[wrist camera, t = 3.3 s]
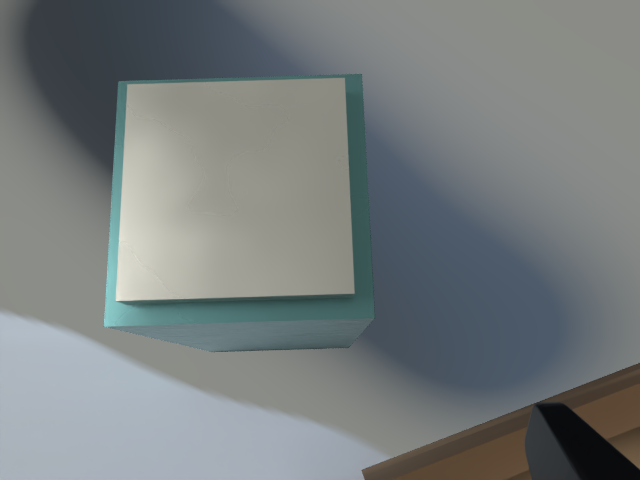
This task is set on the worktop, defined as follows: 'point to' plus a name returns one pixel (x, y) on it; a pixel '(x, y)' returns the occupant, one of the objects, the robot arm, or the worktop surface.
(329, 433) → the worktop surface
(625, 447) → the box
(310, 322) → the tea tin
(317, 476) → the worktop surface
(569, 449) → the robot arm
